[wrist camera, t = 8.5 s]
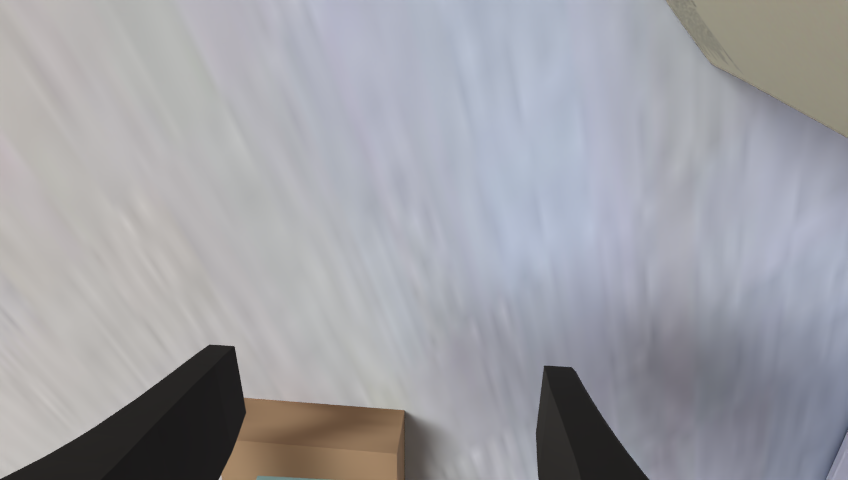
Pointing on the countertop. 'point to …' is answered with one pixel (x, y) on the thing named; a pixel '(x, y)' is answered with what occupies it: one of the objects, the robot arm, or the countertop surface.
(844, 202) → the countertop surface
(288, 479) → the teal block
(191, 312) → the countertop surface
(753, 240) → the countertop surface
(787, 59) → the box
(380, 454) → the tan wooden block
